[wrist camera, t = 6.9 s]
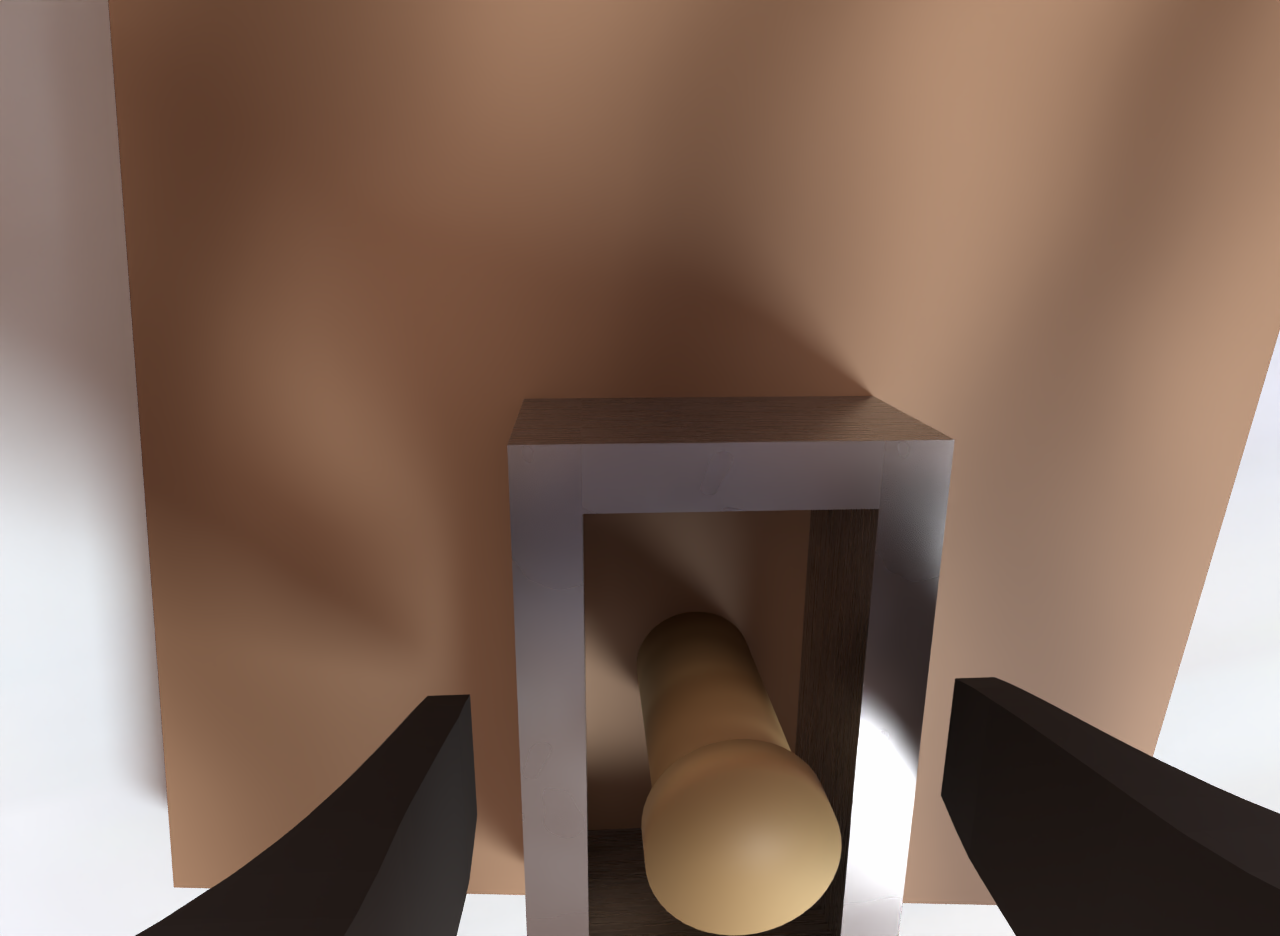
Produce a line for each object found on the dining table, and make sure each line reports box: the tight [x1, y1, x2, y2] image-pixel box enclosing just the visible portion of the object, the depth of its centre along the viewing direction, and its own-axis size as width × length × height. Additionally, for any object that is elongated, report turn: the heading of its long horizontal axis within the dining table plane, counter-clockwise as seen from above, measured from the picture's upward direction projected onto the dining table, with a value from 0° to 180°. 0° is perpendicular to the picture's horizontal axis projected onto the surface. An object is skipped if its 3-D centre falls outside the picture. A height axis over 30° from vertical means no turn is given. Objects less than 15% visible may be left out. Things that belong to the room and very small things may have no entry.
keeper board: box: [108, 0, 1280, 935], centre depth 11 cm, size 18×24×6 cm
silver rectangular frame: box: [507, 396, 955, 936], centre depth 13 cm, size 6×9×3 cm, turn 0°
